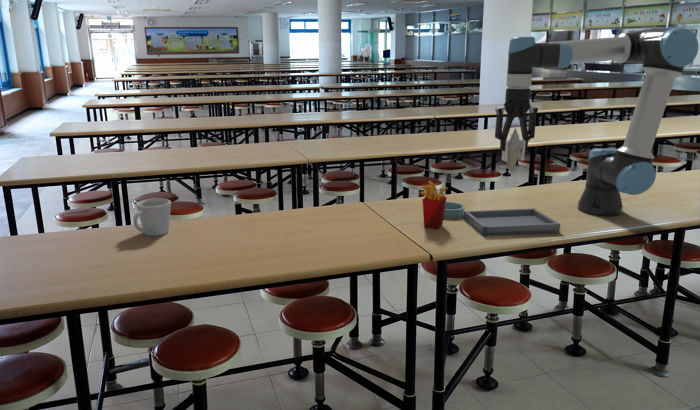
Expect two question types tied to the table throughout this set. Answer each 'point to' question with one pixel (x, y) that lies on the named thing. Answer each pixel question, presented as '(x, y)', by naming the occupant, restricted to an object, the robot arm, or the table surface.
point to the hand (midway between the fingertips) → (512, 160)
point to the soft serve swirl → (514, 149)
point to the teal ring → (453, 210)
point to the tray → (511, 222)
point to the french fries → (433, 206)
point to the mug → (153, 216)
